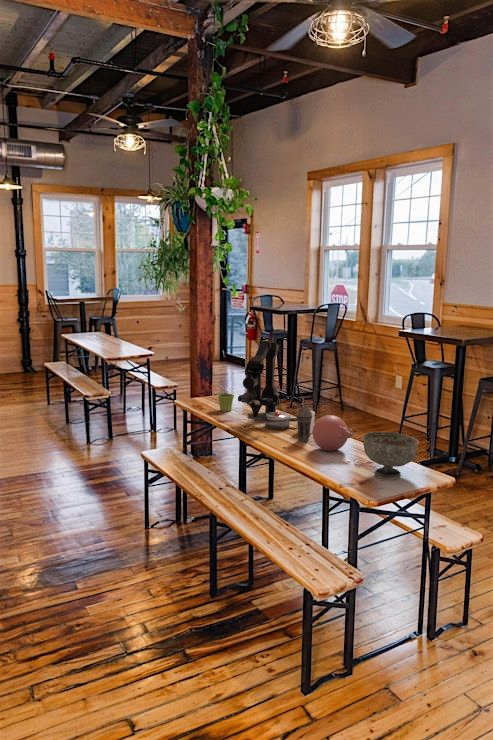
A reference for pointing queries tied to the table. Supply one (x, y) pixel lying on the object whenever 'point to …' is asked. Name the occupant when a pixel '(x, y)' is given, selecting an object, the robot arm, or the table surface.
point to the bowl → (389, 452)
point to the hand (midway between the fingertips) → (255, 417)
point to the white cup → (312, 422)
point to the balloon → (331, 433)
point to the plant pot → (225, 402)
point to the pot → (277, 423)
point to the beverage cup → (304, 423)
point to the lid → (271, 416)
